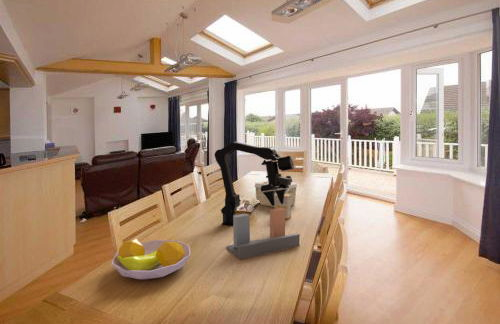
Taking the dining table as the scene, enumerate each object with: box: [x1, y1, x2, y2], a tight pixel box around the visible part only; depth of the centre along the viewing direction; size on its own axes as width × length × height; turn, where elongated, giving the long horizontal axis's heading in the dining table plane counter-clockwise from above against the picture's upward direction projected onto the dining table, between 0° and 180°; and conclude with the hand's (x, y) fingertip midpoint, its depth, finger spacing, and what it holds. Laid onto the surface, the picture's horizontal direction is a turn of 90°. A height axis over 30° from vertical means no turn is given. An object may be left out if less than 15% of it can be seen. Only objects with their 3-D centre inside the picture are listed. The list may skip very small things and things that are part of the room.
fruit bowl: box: [111, 238, 192, 280], centre depth 104 cm, size 28×27×11 cm
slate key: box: [232, 213, 251, 248], centre depth 122 cm, size 3×6×13 cm, turn 118°
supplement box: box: [274, 194, 292, 220], centre depth 164 cm, size 8×5×13 cm, turn 58°
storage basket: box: [254, 179, 298, 208], centre depth 192 cm, size 24×16×15 cm
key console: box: [225, 232, 301, 261], centre depth 124 cm, size 13×28×5 cm, turn 118°
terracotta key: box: [269, 208, 286, 238], centre depth 130 cm, size 3×6×13 cm, turn 118°
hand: (277, 204), depth 142 cm, fingers open, 9 cm apart
